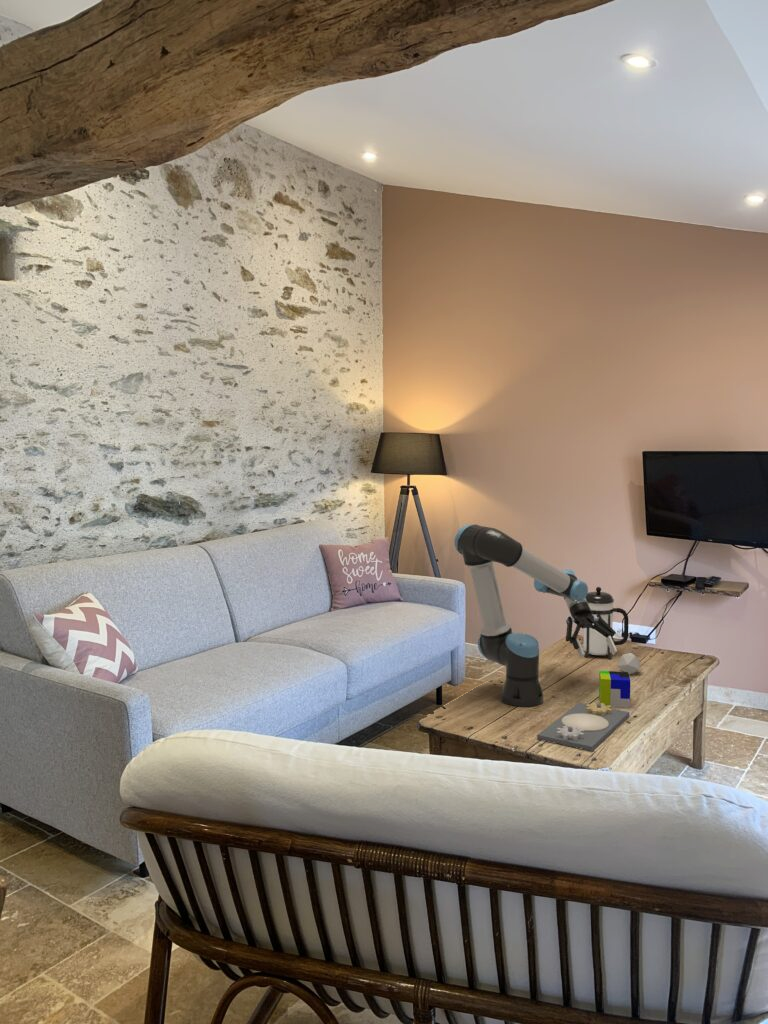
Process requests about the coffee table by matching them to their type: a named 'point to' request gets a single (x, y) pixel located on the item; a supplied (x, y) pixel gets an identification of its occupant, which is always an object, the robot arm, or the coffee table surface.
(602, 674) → the puzzle toy
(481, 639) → the robot arm
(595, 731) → the gear board
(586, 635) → the coffee press
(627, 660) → the die
